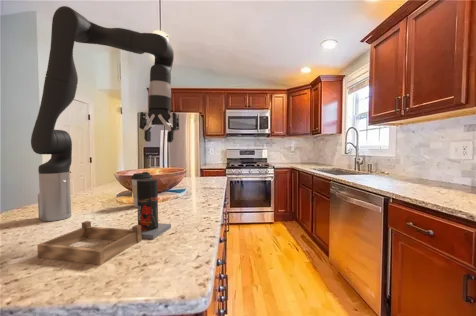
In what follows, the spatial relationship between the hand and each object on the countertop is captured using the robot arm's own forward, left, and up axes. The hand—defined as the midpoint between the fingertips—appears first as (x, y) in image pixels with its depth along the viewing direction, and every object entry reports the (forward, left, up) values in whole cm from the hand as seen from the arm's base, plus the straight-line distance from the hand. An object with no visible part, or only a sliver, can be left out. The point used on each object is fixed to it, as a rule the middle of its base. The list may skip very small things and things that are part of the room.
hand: (158, 141), depth 85 cm
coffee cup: (-20, +18, -29) cm, 39 cm away
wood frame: (-4, -26, -28) cm, 39 cm away
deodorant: (+3, -12, -27) cm, 30 cm away
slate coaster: (+3, -12, -28) cm, 31 cm away
